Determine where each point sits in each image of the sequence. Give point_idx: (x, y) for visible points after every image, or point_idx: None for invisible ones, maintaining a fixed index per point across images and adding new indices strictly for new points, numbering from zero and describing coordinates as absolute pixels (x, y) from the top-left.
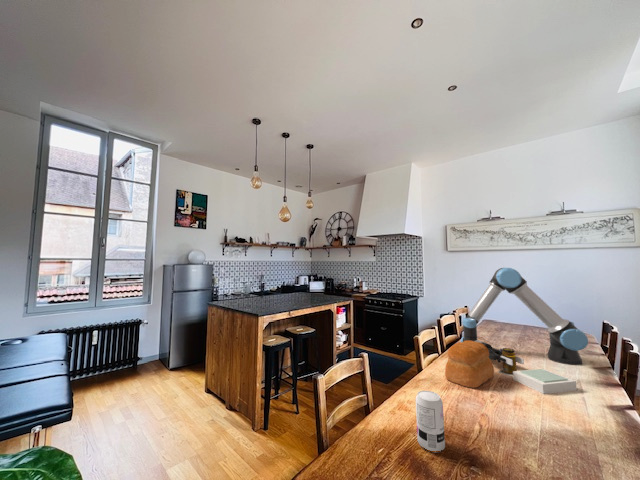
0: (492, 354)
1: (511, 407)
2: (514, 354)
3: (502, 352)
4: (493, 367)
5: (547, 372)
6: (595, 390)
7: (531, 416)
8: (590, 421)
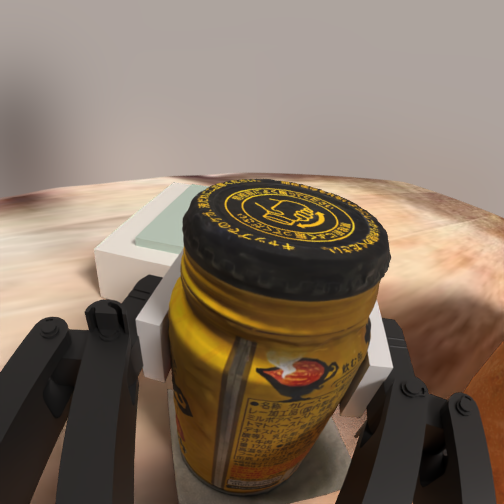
0: (471, 457)
1: (481, 257)
2: (64, 322)
3: (366, 322)
4: (489, 359)
5: (179, 216)
6: (116, 202)
7: (455, 234)
8: (348, 195)
